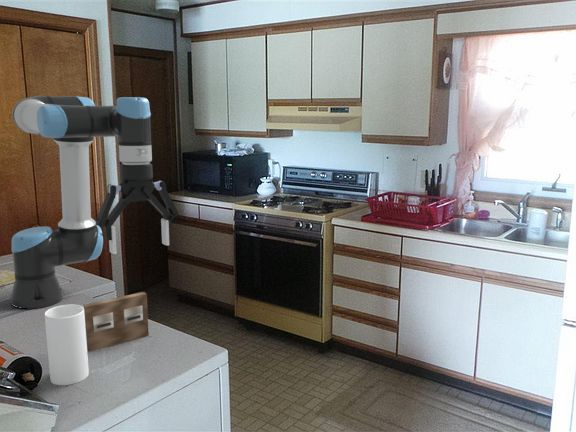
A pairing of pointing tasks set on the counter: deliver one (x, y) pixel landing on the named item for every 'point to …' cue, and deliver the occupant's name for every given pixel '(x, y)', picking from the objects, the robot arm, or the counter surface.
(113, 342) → the label board
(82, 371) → the cup
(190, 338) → the counter surface
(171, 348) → the counter surface
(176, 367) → the counter surface
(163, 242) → the robot arm
